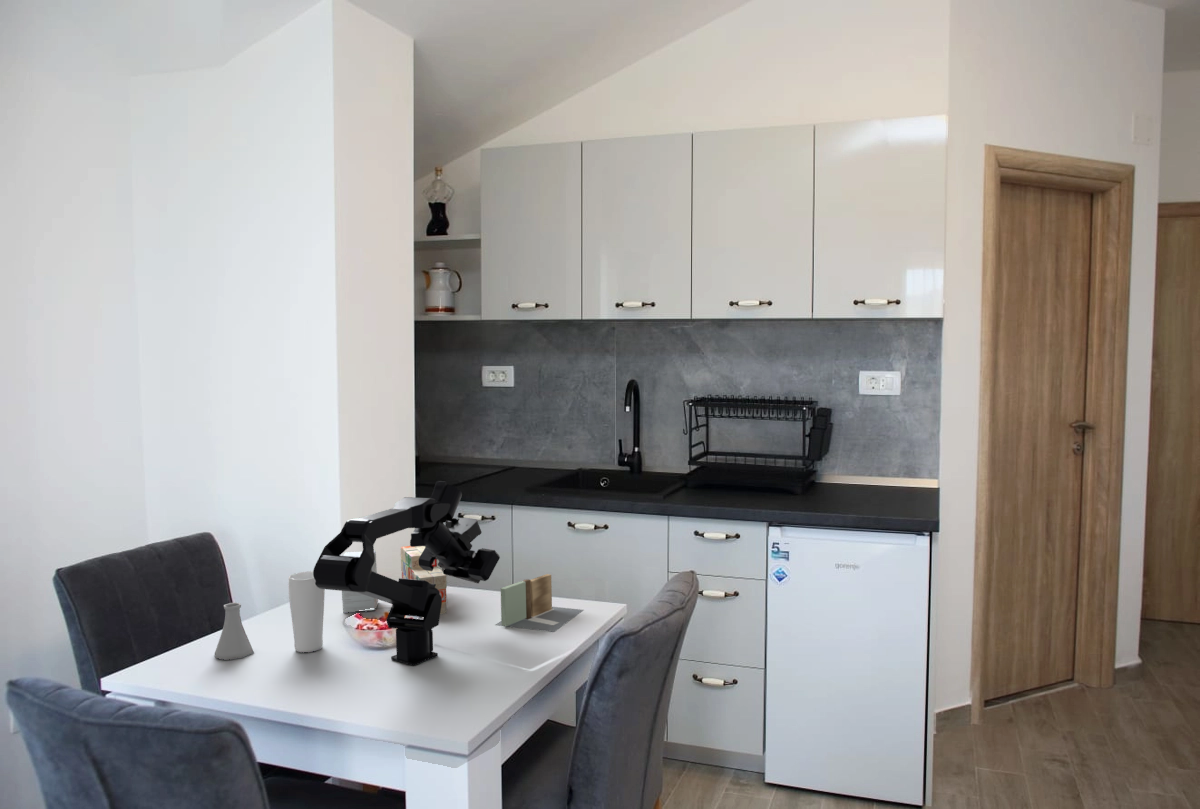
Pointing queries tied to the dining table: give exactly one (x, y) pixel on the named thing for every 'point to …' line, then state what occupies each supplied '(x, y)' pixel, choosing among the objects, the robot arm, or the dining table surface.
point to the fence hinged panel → (513, 603)
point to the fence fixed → (538, 595)
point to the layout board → (547, 619)
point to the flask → (233, 635)
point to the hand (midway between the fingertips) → (478, 581)
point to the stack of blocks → (423, 571)
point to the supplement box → (355, 599)
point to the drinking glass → (306, 611)
